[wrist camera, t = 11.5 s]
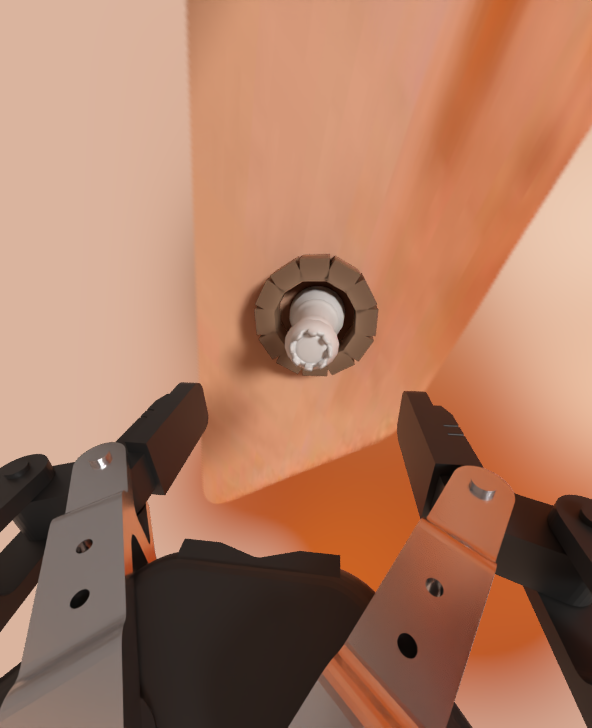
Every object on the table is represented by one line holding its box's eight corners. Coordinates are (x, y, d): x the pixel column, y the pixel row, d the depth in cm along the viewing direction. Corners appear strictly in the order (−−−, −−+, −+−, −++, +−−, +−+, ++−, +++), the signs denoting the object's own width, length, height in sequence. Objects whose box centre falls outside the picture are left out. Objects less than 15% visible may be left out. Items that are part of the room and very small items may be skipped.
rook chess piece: (306, 345, 25) (295, 396, 18) (280, 300, 23) (257, 335, 16) (354, 323, 23) (362, 368, 16) (330, 274, 22) (328, 299, 15)
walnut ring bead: (258, 255, 22) (249, 259, 20) (378, 253, 21) (383, 256, 18) (267, 361, 26) (260, 374, 24) (368, 363, 25) (371, 377, 22)
